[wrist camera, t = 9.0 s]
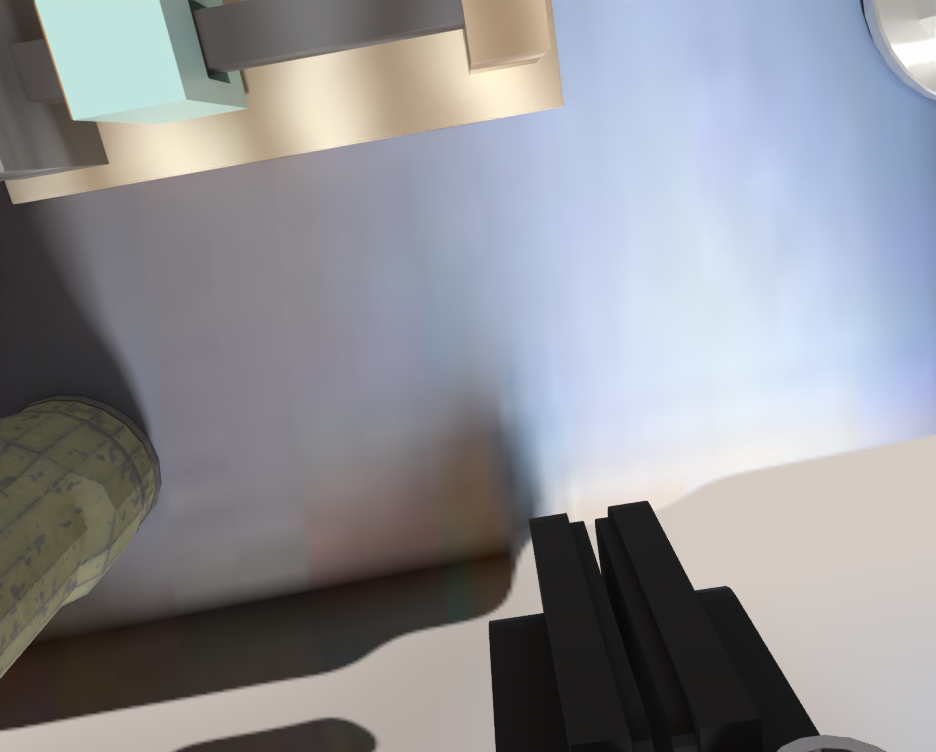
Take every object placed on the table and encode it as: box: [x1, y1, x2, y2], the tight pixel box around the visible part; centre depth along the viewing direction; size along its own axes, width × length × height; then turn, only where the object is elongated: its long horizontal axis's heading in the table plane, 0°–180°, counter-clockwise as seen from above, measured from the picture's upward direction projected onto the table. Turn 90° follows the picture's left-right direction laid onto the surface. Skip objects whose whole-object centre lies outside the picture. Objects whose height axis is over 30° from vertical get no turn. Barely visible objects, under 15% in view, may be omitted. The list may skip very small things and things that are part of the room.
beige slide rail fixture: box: [0, 0, 564, 204], centre depth 28 cm, size 26×9×9 cm, turn 100°
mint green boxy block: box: [35, 0, 249, 124], centre depth 27 cm, size 4×5×8 cm
